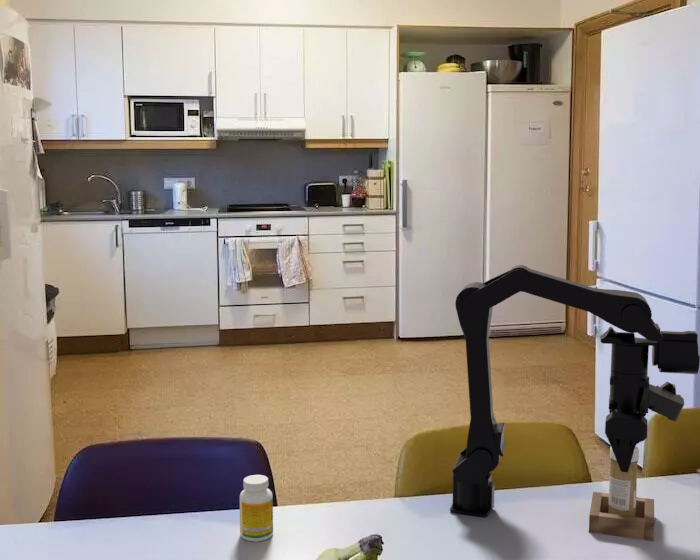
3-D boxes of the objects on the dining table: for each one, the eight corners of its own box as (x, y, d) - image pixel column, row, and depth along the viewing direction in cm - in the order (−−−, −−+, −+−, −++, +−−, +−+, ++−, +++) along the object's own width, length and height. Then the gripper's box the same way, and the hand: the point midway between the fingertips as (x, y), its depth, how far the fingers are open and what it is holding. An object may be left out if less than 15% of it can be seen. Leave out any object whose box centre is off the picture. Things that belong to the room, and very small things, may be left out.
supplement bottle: (236, 531, 134) (234, 476, 133) (266, 525, 137) (265, 470, 135) (246, 545, 130) (245, 487, 128) (278, 538, 132) (277, 481, 130)
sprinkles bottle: (641, 525, 136) (645, 448, 134) (623, 532, 133) (627, 453, 132) (618, 515, 140) (622, 440, 138) (601, 522, 137) (604, 445, 135)
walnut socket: (588, 532, 134) (589, 514, 133) (592, 507, 143) (593, 491, 142) (653, 541, 130) (654, 523, 130) (653, 516, 140) (654, 499, 139)
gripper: (684, 389, 121) (679, 489, 124) (680, 361, 139) (675, 449, 141) (606, 383, 125) (603, 480, 127) (611, 356, 143) (608, 442, 145)
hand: (625, 461), depth 135 cm, fingers open, 9 cm apart
